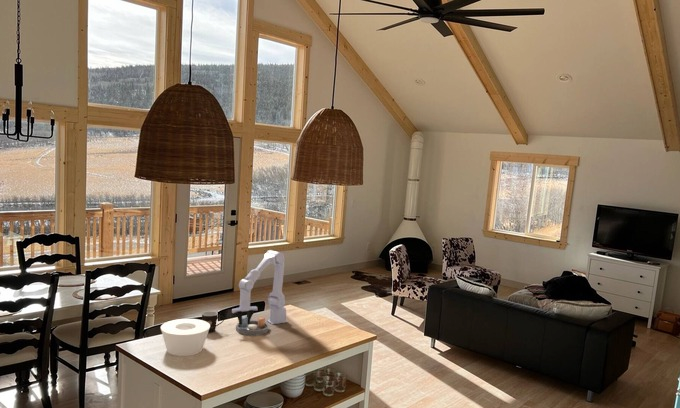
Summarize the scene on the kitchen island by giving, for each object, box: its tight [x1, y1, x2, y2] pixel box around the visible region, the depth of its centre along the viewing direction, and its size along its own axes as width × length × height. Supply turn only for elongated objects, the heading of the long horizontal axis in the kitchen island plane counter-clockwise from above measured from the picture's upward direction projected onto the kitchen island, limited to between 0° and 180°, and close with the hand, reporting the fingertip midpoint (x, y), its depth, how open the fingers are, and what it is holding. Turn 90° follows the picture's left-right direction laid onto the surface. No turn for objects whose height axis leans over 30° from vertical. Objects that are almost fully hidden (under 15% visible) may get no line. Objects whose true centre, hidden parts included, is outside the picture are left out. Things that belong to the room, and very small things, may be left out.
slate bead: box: [240, 316, 248, 327], centre depth 292 cm, size 4×4×5 cm
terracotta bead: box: [257, 317, 266, 328], centre depth 297 cm, size 4×4×5 cm
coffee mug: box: [201, 310, 225, 334], centre depth 288 cm, size 12×9×10 cm
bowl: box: [160, 318, 210, 357], centre depth 261 cm, size 24×24×12 cm
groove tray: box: [235, 319, 270, 337], centre depth 295 cm, size 18×18×2 cm
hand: (244, 323), depth 292 cm, fingers closed on slate bead, 4 cm apart
